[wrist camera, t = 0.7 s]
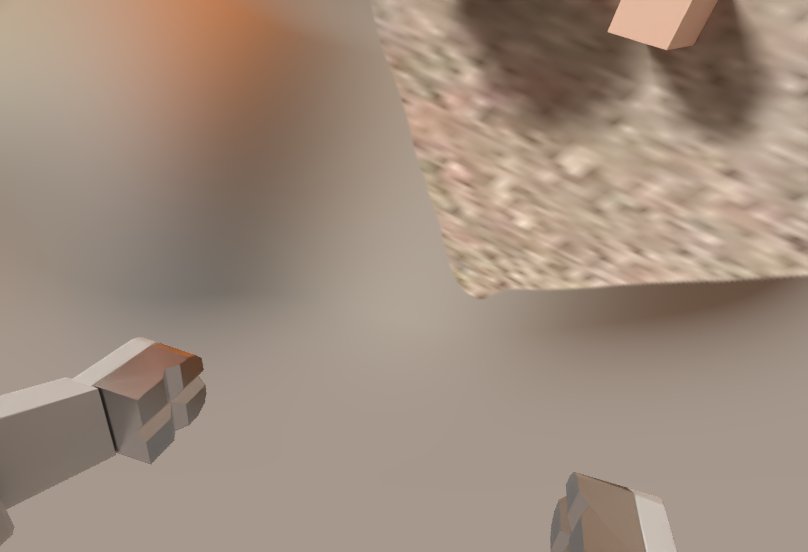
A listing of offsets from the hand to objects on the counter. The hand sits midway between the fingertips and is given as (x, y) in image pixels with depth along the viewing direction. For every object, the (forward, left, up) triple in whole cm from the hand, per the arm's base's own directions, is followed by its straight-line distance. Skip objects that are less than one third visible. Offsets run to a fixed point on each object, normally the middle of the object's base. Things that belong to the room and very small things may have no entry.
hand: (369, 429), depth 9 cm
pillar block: (-7, -7, -43) cm, 44 cm away
